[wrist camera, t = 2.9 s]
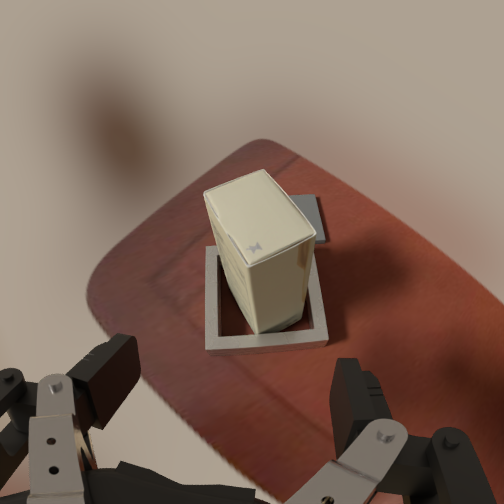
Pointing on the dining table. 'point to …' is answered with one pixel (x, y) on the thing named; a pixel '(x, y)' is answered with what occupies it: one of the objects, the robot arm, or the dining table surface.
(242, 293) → the skincare box
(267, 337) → the grey square frame
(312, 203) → the pad
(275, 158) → the dining table surface
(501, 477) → the dining table surface
